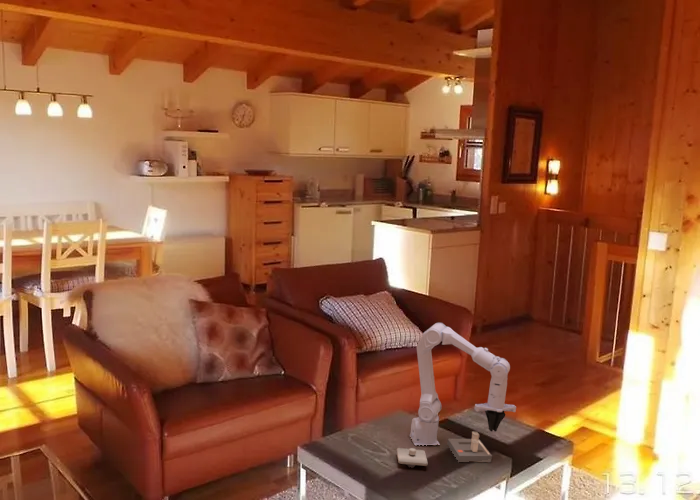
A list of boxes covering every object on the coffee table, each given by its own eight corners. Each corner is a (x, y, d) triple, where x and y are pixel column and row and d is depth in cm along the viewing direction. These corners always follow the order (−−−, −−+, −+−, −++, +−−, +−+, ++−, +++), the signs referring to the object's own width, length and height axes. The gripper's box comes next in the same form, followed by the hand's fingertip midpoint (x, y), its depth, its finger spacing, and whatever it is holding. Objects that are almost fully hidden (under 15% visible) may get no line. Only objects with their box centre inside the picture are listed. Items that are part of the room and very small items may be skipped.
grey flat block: (458, 462, 226) (459, 455, 225) (447, 445, 238) (447, 438, 238) (491, 462, 228) (492, 455, 227) (478, 445, 240) (478, 438, 240)
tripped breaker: (472, 452, 228) (473, 442, 228) (470, 448, 231) (471, 439, 230) (477, 452, 229) (478, 442, 228) (474, 448, 231) (476, 439, 231)
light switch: (423, 457, 228) (425, 443, 227) (427, 471, 218) (428, 457, 217) (395, 455, 227) (397, 441, 227) (398, 469, 218) (399, 455, 217)
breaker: (473, 444, 235) (474, 435, 234) (471, 440, 237) (472, 431, 237) (478, 444, 235) (479, 435, 234) (475, 440, 237) (476, 431, 237)
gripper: (481, 397, 222) (477, 435, 224) (521, 398, 225) (516, 435, 227) (474, 390, 229) (470, 426, 231) (513, 390, 232) (508, 426, 234)
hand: (492, 430), depth 230 cm, fingers closed
